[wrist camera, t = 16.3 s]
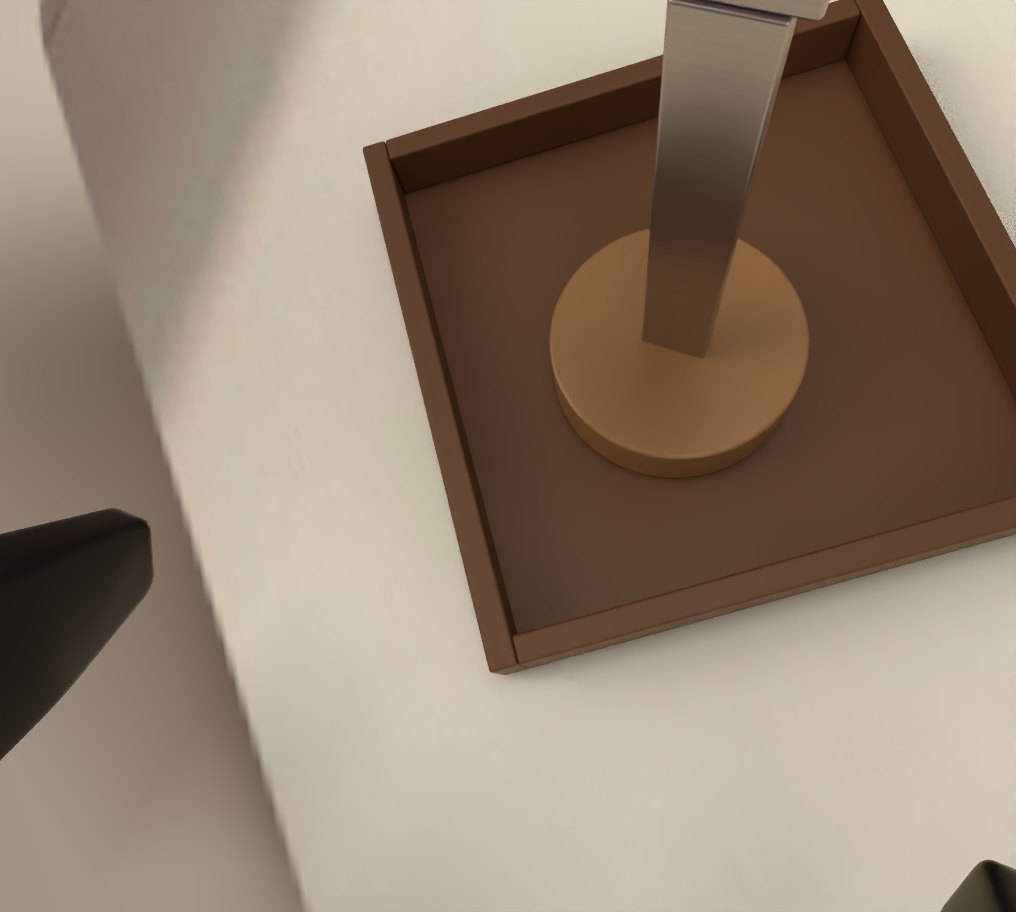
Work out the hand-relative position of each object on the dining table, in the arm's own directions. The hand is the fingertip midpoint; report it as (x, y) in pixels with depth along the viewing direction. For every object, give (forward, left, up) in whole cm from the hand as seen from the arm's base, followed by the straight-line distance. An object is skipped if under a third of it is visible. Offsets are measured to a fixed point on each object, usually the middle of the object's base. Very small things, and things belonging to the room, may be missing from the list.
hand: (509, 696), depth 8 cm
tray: (+5, +7, -10) cm, 13 cm away
